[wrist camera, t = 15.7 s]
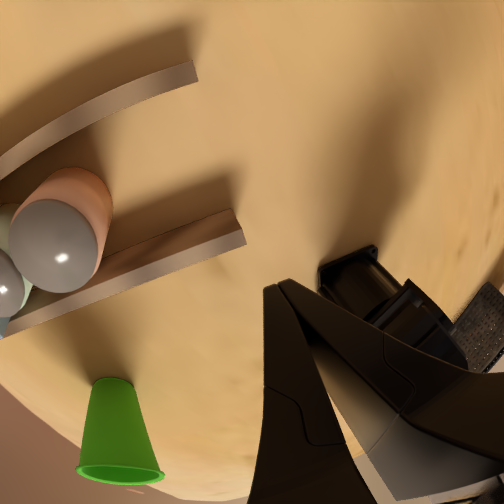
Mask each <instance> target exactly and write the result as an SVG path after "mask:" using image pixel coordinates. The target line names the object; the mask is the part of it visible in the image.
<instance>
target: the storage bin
mask: <svg viewBox="0 0 504 504" xmlns="http://www.w3.org/2000/svg"><path fill="white" fill-rule="evenodd" d="M485 315H486V316H485ZM482 319H483V320H482ZM494 324H495V326H494ZM454 326H455V328H456V331H455V332H454V333H453V334H452V335H451V336H452V338H453V339H454V340H455V341H456V343H457V344H458V345H459V346H460V348H461V349H462V350H463V352H464V353H465V355H466V359H467V358H468V359H467V362H468V369H469V371H472V372H477V373H488V372H489V371H490V369H491V368H492V367H493V366H494V365H495V364H496V363H497V361H498V360H499V359H500V358H501V357H502V355H503V354H504V351H503V350H504V335H503V334H504V296H503V294H501V293H500V291H498V290H497V289H496V288H495V287H494V286H493V285H492V284H491V283H490V282H488V283H486V284H485V285H484V286H483V287H482V288H481V289H480V291H479V292H478V294H477V295H476V296H475V297H474V299H473V300H472V301H471V303H470V304H469V305H468V307H467V308H466V309H465V311H464V312H463V313H462V315H461V316H460V317H459V318H458V320H457V321H456V322H455V323H454ZM491 328H492V330H491ZM500 338H501V339H500ZM499 339H500V340H499ZM482 340H483V341H482ZM479 343H480V345H479ZM496 343H497V344H496ZM475 348H476V349H475ZM491 349H492V350H491ZM488 353H489V354H488ZM500 353H501V354H500ZM470 354H471V355H470ZM487 354H488V355H487ZM490 356H491V357H490ZM484 357H485V359H484ZM489 357H490V358H489ZM497 357H498V358H497ZM478 364H479V365H478ZM474 368H476V369H474ZM487 368H488V370H487Z"/></svg>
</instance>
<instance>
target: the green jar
mask: <svg viewBox="0 0 504 504" xmlns="http://www.w3.org/2000/svg"><path fill="white" fill-rule="evenodd" d="M20 206H21V205H19V204H15V203H7V204H3V205H1V206H0V317H10V316H13V315H15V314H16V313H17V312H18V311H19V310H20V309H21V308H22V307H23V306H24V305H25V303H26V301H27V298H28V296H29V293H30V291H31V288H32V286H33V284H32V283H30V282H29V281H28V280H27V279H25V278H24V276H23V275H22V274H21V273H20V272H19V271H18V269H17V268H16V266H15V264H14V262H13V260H12V258H11V255H10V251H9V245H8V235H9V230H10V225H11V221H12V218H13V216H14V214H15V212H16V211H17V209H18V208H19V207H20Z"/></svg>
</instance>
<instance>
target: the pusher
mask: <svg viewBox="0 0 504 504" xmlns="http://www.w3.org/2000/svg"><path fill="white" fill-rule="evenodd" d="M10 317H11V316H10ZM10 317H0V339H1V338H3V337H4V334H5V331H6V328H7V325H8V323H9V320H10Z"/></svg>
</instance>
